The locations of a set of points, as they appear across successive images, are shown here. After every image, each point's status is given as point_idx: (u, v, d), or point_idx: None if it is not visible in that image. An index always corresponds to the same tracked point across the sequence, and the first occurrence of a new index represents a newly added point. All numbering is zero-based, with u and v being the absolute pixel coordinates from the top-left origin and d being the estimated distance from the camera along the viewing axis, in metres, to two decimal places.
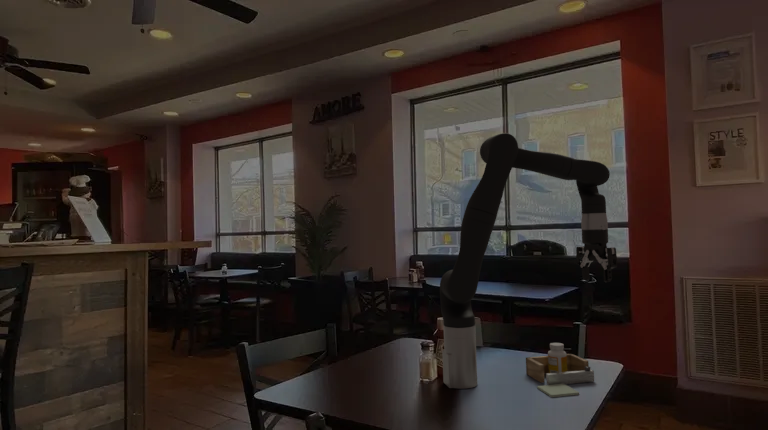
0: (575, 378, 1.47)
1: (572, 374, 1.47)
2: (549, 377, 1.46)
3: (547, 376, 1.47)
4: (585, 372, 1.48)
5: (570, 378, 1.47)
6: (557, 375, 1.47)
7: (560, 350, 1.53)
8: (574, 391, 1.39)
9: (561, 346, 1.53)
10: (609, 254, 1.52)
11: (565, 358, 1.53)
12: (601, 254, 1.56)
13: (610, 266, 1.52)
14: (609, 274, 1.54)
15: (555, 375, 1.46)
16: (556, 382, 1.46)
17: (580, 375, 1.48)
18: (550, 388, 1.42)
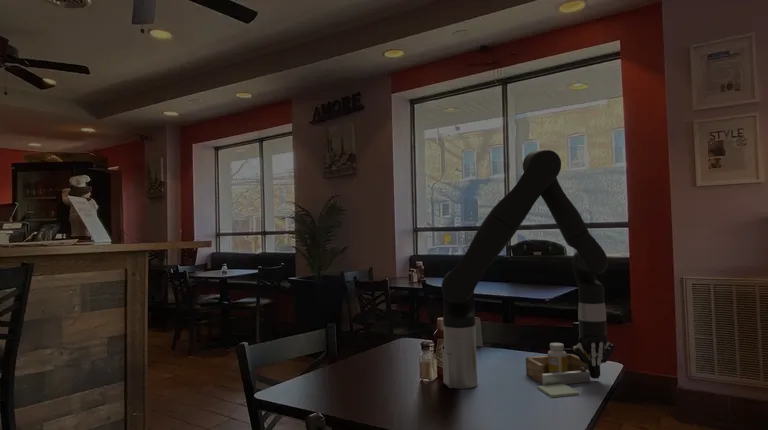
0: (571, 378, 1.47)
1: (568, 374, 1.47)
2: (545, 377, 1.46)
3: (543, 376, 1.47)
4: (581, 372, 1.48)
5: (566, 378, 1.47)
6: (553, 375, 1.46)
7: (560, 350, 1.53)
8: (574, 391, 1.39)
9: (561, 346, 1.53)
10: (611, 351, 1.49)
11: (565, 358, 1.53)
12: (602, 349, 1.49)
13: (604, 361, 1.49)
14: None
15: (551, 375, 1.46)
16: (552, 382, 1.46)
17: (576, 375, 1.48)
18: (550, 388, 1.42)
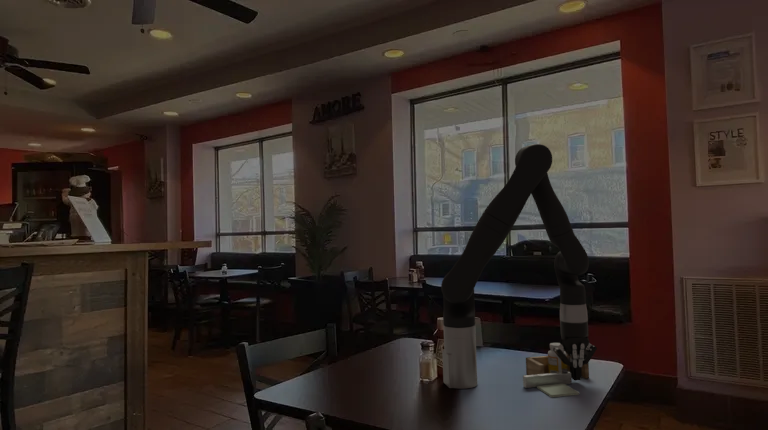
0: (552, 380, 1.46)
1: (549, 376, 1.46)
2: (526, 379, 1.45)
3: (524, 378, 1.46)
4: (562, 374, 1.47)
5: (547, 380, 1.46)
6: (534, 377, 1.45)
7: None
8: (574, 391, 1.39)
9: None
10: (593, 353, 1.48)
11: None
12: (584, 350, 1.48)
13: (586, 363, 1.48)
14: None
15: (532, 377, 1.45)
16: (533, 384, 1.45)
17: (557, 377, 1.47)
18: (550, 388, 1.42)
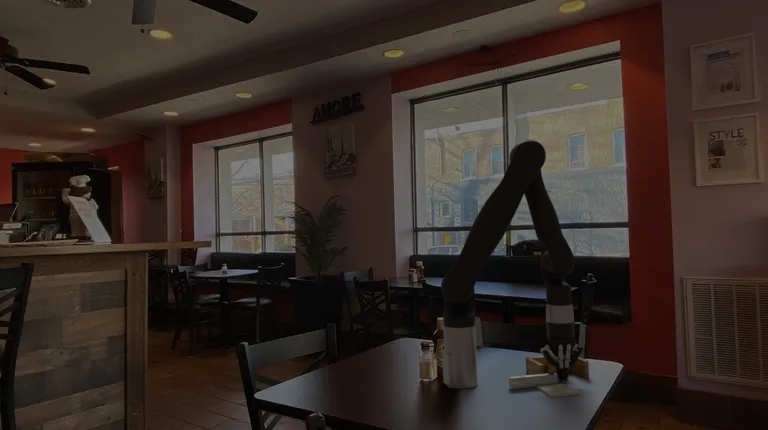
0: (538, 381, 1.45)
1: (535, 377, 1.45)
2: (511, 380, 1.44)
3: (510, 379, 1.45)
4: (548, 375, 1.46)
5: (533, 381, 1.45)
6: (520, 378, 1.45)
7: None
8: (574, 391, 1.39)
9: None
10: (579, 353, 1.47)
11: None
12: (570, 351, 1.47)
13: (572, 364, 1.47)
14: None
15: (518, 378, 1.44)
16: (519, 386, 1.44)
17: (543, 378, 1.46)
18: (550, 388, 1.42)
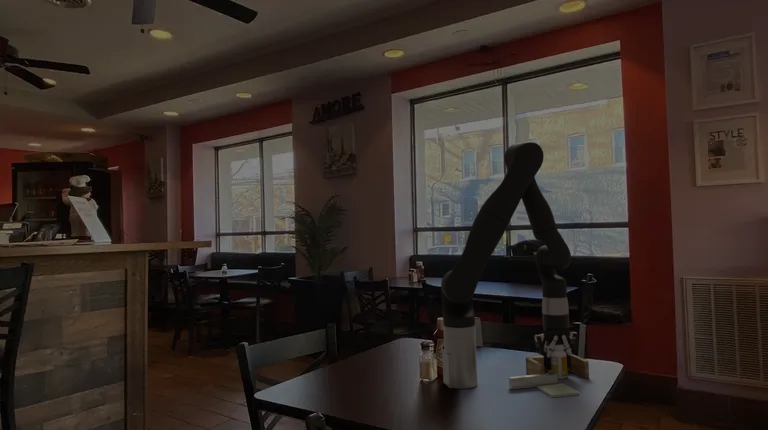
0: (538, 381, 1.45)
1: (535, 377, 1.45)
2: (511, 380, 1.44)
3: (510, 379, 1.45)
4: (548, 375, 1.46)
5: (533, 381, 1.45)
6: (520, 378, 1.45)
7: (560, 350, 1.53)
8: (574, 391, 1.39)
9: (561, 346, 1.53)
10: (577, 340, 1.55)
11: (565, 358, 1.53)
12: (567, 339, 1.55)
13: (576, 351, 1.55)
14: None
15: (518, 378, 1.44)
16: (519, 386, 1.44)
17: (543, 378, 1.46)
18: (550, 388, 1.42)
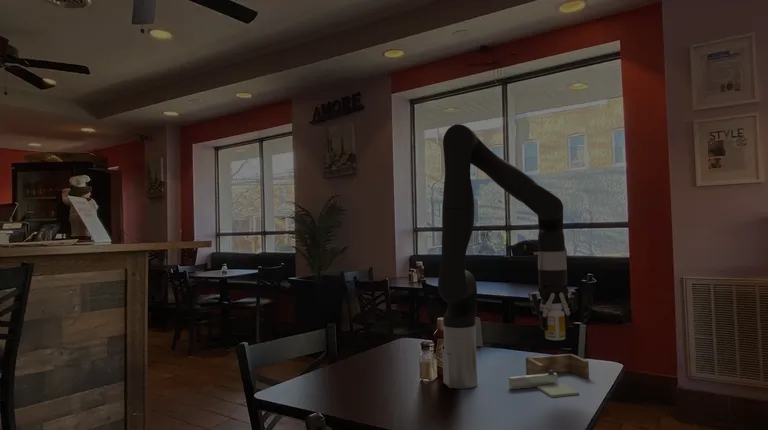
0: (538, 381, 1.45)
1: (535, 377, 1.45)
2: (511, 380, 1.44)
3: (510, 379, 1.45)
4: (548, 375, 1.46)
5: (533, 381, 1.45)
6: (520, 378, 1.45)
7: (557, 309, 1.40)
8: (574, 391, 1.39)
9: (558, 305, 1.40)
10: (576, 298, 1.42)
11: (563, 318, 1.40)
12: None
13: (574, 311, 1.42)
14: None
15: (518, 378, 1.44)
16: (519, 386, 1.44)
17: (543, 378, 1.46)
18: (550, 388, 1.42)
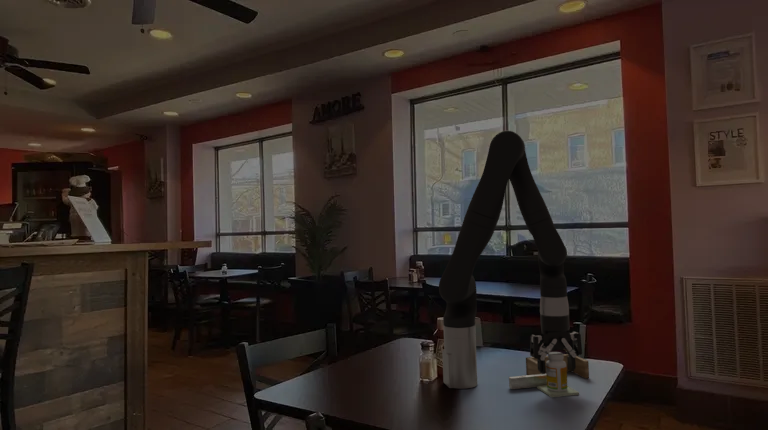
0: (538, 381, 1.45)
1: (535, 377, 1.45)
2: (511, 380, 1.44)
3: (510, 379, 1.45)
4: None
5: (533, 381, 1.45)
6: (520, 378, 1.45)
7: (559, 360, 1.40)
8: (574, 391, 1.39)
9: (560, 356, 1.40)
10: (579, 340, 1.42)
11: (565, 369, 1.39)
12: (568, 341, 1.41)
13: (581, 353, 1.42)
14: None
15: (518, 378, 1.44)
16: (519, 386, 1.44)
17: (543, 378, 1.46)
18: None
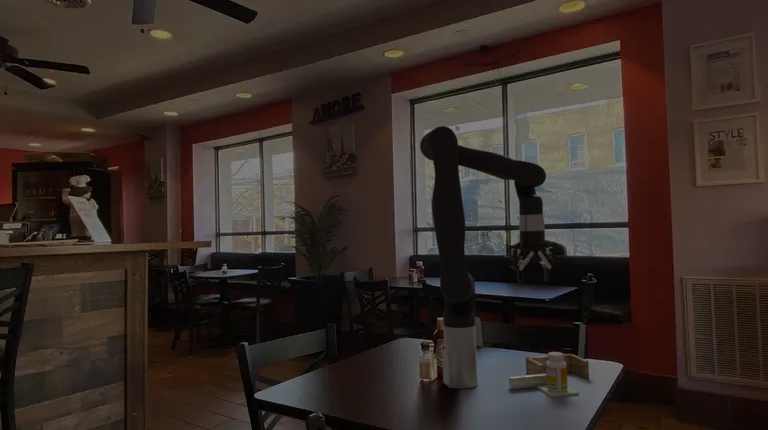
0: (538, 381, 1.45)
1: (535, 377, 1.45)
2: (511, 380, 1.44)
3: (510, 379, 1.45)
4: None
5: (533, 381, 1.45)
6: (520, 378, 1.45)
7: (559, 360, 1.40)
8: (574, 391, 1.39)
9: (560, 356, 1.40)
10: (554, 253, 1.60)
11: (565, 369, 1.39)
12: (544, 254, 1.60)
13: (555, 265, 1.60)
14: None
15: (518, 378, 1.44)
16: (519, 386, 1.44)
17: (543, 378, 1.46)
18: None
